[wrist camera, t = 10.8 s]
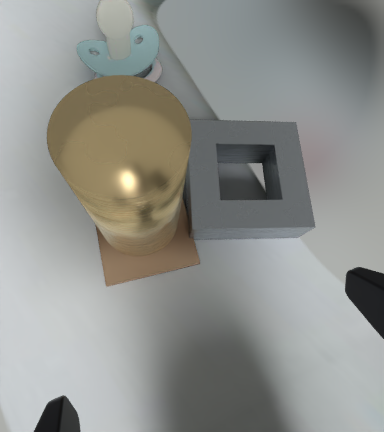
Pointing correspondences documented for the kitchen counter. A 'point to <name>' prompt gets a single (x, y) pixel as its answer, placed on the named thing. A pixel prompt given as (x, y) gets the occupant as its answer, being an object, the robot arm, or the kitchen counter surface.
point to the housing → (273, 175)
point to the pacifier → (121, 44)
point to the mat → (149, 256)
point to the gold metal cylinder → (124, 158)
